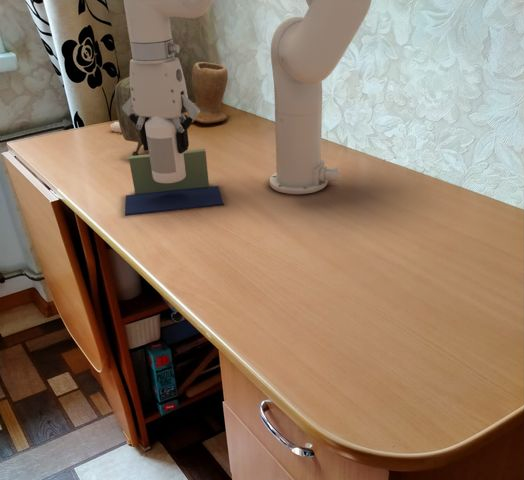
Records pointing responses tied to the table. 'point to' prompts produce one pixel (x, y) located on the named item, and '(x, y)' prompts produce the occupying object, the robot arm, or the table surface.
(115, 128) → the sitting furry creature
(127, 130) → the tabletop clock
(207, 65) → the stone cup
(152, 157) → the white capped bottle
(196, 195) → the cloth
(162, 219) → the table surface
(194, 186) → the backboard
